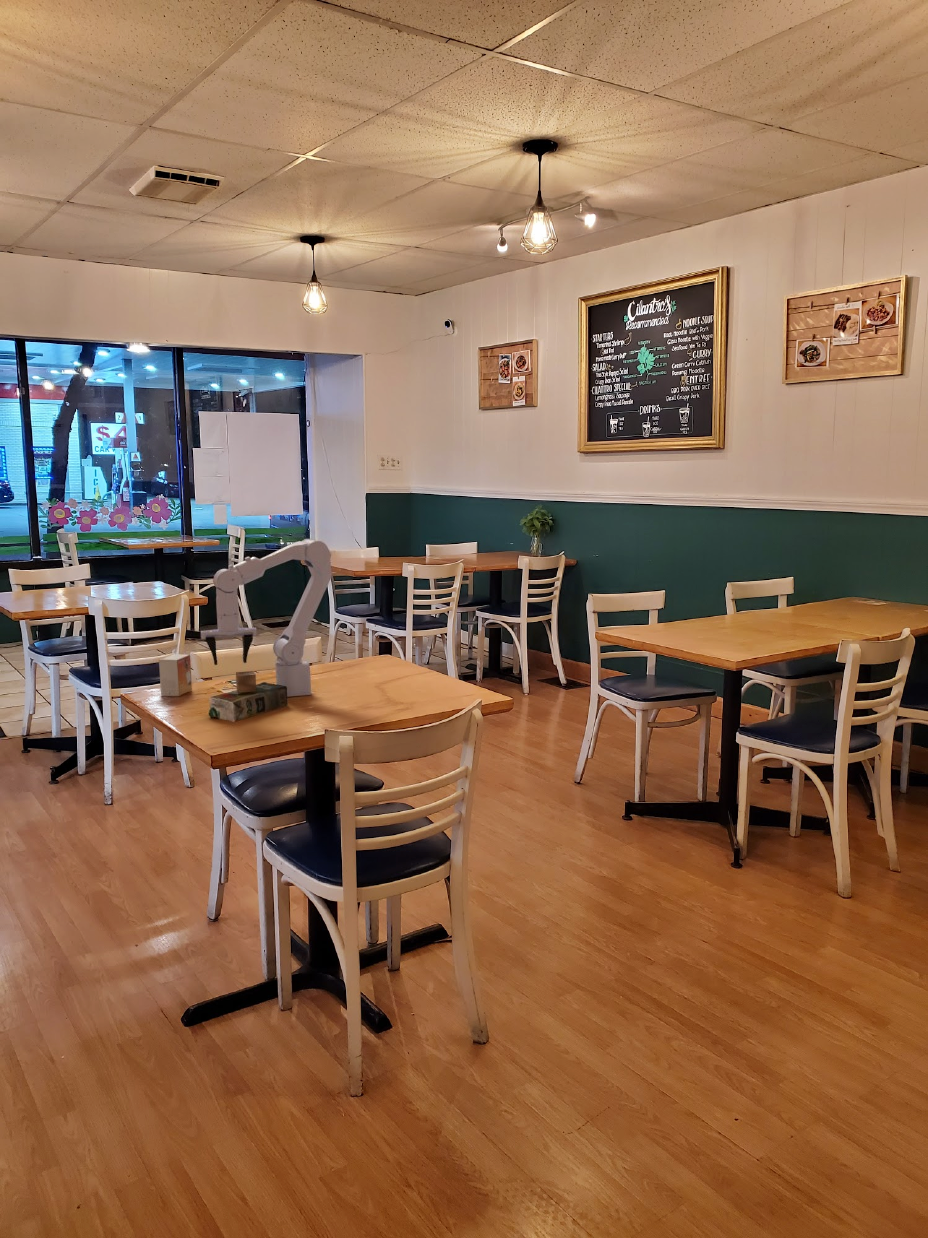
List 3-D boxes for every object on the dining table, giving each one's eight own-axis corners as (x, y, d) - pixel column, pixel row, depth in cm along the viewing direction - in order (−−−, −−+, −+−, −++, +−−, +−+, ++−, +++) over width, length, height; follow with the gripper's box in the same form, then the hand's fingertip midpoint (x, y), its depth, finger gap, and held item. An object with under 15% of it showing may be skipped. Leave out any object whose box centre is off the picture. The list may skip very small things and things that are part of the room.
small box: (178, 697, 260) (176, 660, 258) (160, 696, 261) (158, 659, 259) (192, 690, 267) (190, 654, 266) (174, 689, 268) (172, 653, 267)
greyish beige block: (254, 687, 247) (253, 670, 246) (256, 691, 243) (255, 674, 242) (236, 689, 245) (235, 672, 245) (238, 692, 241) (237, 676, 240)
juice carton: (232, 724, 233) (230, 700, 232) (205, 718, 239) (204, 695, 238) (289, 707, 250) (288, 685, 249) (263, 703, 255) (262, 681, 254)
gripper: (201, 617, 245) (203, 668, 248) (257, 614, 250) (259, 664, 252) (199, 613, 252) (202, 662, 254) (254, 610, 257) (256, 659, 259)
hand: (230, 663), depth 254 cm, fingers open, 7 cm apart
